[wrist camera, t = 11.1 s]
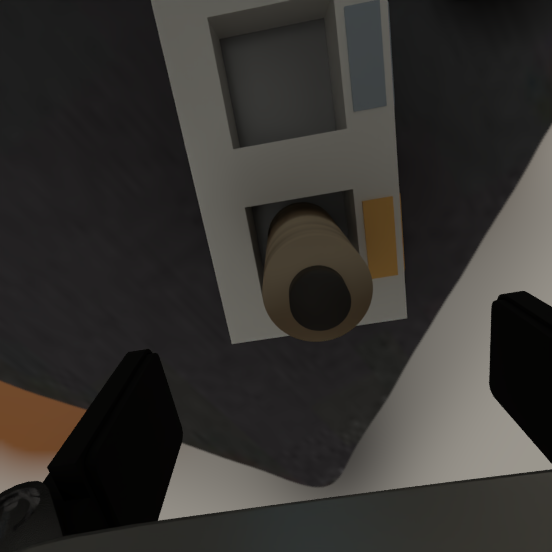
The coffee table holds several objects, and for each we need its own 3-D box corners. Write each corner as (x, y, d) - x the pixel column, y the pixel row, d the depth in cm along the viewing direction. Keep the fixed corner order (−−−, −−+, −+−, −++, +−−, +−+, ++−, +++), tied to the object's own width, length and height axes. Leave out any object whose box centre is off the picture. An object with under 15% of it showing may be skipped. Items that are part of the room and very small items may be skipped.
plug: (262, 208, 26) (250, 256, 15) (331, 196, 26) (374, 236, 15) (274, 273, 28) (272, 362, 17) (339, 263, 28) (384, 345, 16)
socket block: (171, 7, 23) (142, -30, 18) (364, -33, 23) (387, -83, 18) (239, 313, 30) (231, 345, 25) (389, 290, 29) (411, 319, 25)
